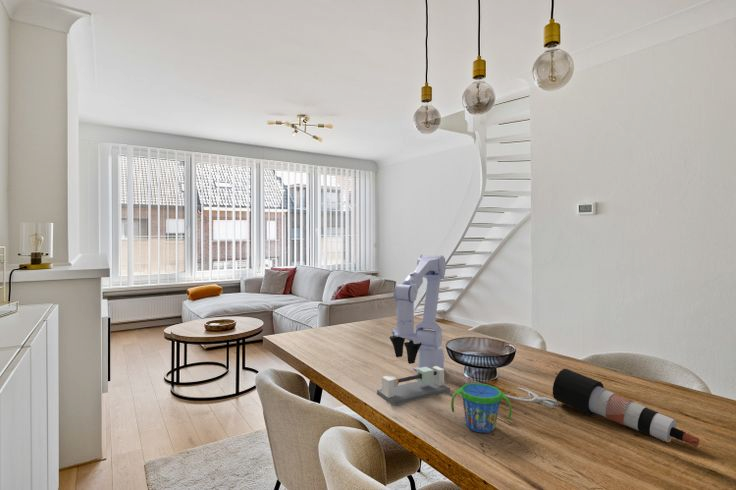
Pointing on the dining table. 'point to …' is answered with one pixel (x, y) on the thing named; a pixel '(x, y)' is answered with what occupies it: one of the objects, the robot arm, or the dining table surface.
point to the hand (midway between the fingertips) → (405, 359)
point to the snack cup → (481, 405)
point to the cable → (614, 407)
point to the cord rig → (412, 387)
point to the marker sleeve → (425, 375)
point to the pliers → (535, 399)
